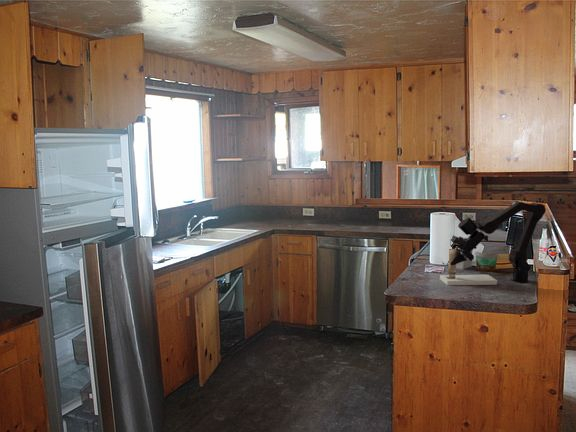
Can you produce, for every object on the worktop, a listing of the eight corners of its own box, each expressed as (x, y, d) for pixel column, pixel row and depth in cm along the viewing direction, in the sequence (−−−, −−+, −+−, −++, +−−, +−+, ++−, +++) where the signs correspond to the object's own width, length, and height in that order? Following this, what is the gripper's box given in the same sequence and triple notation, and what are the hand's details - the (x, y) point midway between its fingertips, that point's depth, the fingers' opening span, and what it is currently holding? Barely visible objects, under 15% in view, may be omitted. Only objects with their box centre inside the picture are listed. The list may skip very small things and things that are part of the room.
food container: (474, 271, 281) (475, 252, 280) (473, 268, 287) (474, 250, 286) (499, 272, 278) (499, 254, 277) (498, 270, 284) (498, 251, 282)
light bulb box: (461, 264, 298) (461, 245, 296) (472, 266, 293) (473, 247, 292) (452, 267, 290) (452, 248, 289) (463, 269, 286) (464, 250, 284)
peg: (457, 278, 259) (458, 250, 258) (452, 279, 257) (453, 251, 255) (451, 276, 262) (451, 248, 261) (446, 277, 260) (447, 249, 258)
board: (487, 278, 266) (487, 274, 266) (497, 284, 254) (497, 280, 254) (439, 279, 266) (440, 275, 266) (447, 285, 254) (447, 281, 254)
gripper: (455, 227, 266) (432, 249, 267) (468, 233, 247) (444, 256, 249) (470, 242, 267) (447, 264, 268) (484, 249, 249) (460, 272, 250)
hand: (449, 263), depth 259 cm, fingers closed on peg, 4 cm apart
